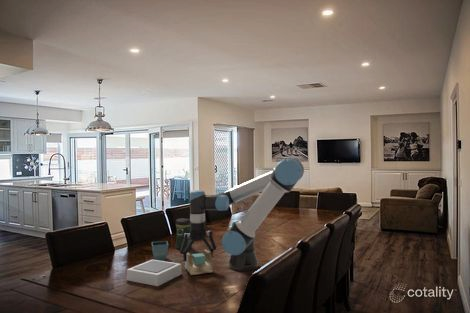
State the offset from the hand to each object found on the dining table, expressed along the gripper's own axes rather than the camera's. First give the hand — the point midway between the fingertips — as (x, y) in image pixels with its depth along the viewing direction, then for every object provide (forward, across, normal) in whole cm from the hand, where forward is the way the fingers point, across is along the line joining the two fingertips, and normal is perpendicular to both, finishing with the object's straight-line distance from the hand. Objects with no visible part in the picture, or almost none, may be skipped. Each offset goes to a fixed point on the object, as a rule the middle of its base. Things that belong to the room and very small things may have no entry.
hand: (198, 265), depth 178 cm
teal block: (-1, 0, 0) cm, 1 cm away
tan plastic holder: (+2, 0, 0) cm, 2 cm away
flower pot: (+3, +14, -30) cm, 33 cm away
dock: (+3, +22, 0) cm, 22 cm away
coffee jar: (+3, -4, -48) cm, 48 cm away
